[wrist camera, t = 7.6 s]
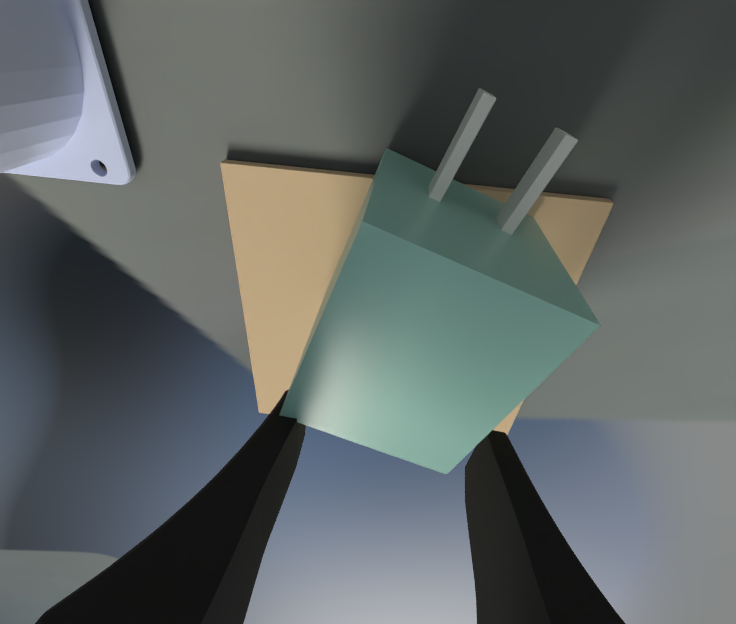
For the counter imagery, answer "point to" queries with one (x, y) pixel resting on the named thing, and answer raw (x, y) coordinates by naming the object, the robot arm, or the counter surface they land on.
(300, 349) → the cork mat
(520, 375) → the charger
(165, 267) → the counter surface
